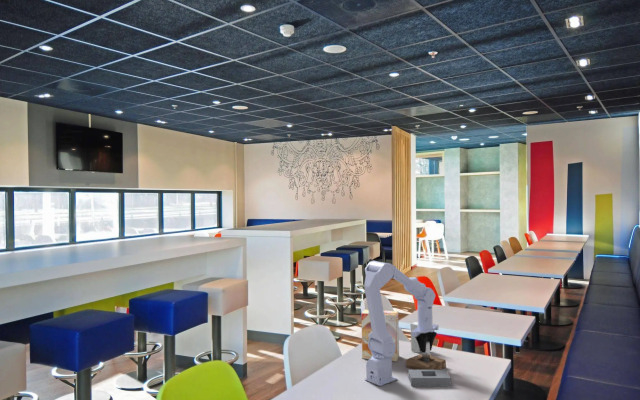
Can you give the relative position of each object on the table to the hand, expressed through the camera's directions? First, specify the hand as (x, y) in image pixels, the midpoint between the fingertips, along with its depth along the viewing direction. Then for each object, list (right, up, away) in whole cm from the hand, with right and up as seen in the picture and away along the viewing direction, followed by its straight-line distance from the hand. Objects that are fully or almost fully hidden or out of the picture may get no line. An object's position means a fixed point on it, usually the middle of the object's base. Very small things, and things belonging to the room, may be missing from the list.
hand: (425, 351), depth 185 cm
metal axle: (0, -4, 0) cm, 4 cm away
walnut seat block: (0, -6, 0) cm, 6 cm away
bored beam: (-2, -7, -15) cm, 16 cm away
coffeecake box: (-16, -7, +12) cm, 22 cm away
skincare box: (+2, -7, +20) cm, 22 cm away
